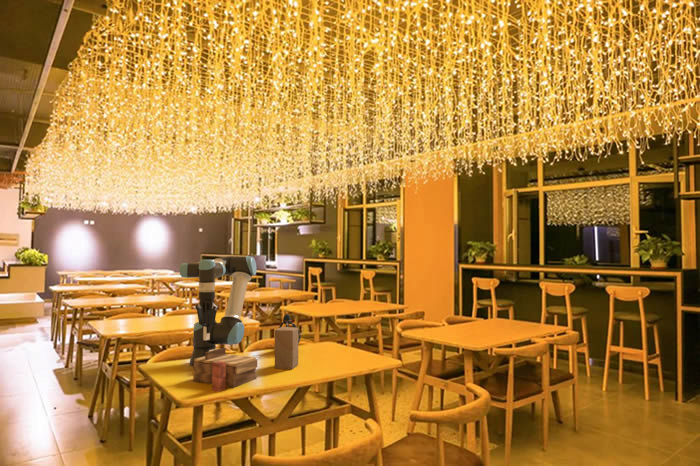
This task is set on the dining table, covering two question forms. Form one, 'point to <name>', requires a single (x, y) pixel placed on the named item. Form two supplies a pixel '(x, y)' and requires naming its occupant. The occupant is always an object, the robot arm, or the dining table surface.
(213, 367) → the reddish-brown wooden bar
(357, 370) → the dining table surface
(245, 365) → the lid
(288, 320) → the teapot
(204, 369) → the toolbox
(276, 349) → the wooden block
